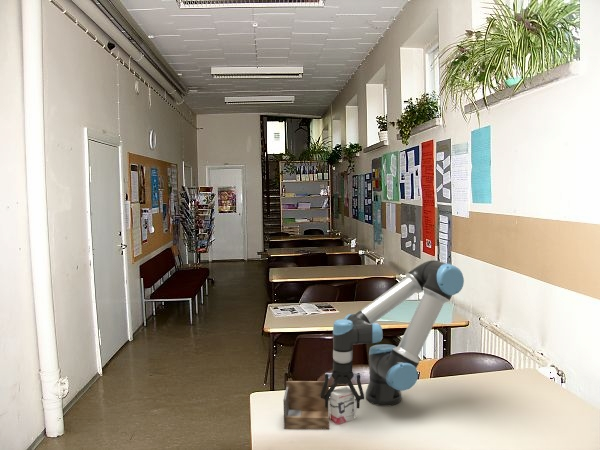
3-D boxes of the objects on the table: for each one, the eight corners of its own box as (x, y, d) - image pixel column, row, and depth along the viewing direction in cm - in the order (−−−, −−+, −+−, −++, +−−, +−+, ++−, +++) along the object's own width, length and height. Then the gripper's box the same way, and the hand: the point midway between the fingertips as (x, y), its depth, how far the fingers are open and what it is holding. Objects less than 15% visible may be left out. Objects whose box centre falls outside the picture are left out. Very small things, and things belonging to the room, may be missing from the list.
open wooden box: (329, 413, 204) (328, 381, 203) (329, 429, 191) (328, 394, 190) (287, 413, 205) (286, 381, 204) (284, 428, 192) (283, 394, 191)
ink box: (337, 425, 194) (337, 395, 193) (329, 420, 198) (329, 390, 198) (354, 419, 199) (354, 390, 198) (347, 414, 203) (346, 385, 202)
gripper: (370, 357, 200) (370, 412, 201) (314, 356, 201) (314, 410, 203) (372, 364, 192) (371, 421, 194) (313, 362, 194) (313, 419, 195)
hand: (342, 415), depth 198 cm, fingers open, 10 cm apart
